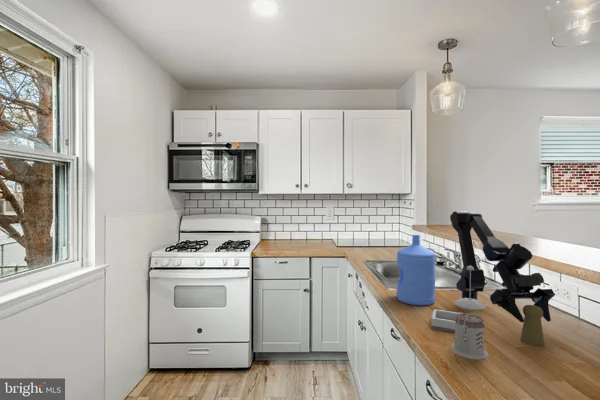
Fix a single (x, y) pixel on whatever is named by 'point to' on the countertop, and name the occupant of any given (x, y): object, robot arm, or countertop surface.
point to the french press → (469, 329)
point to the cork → (532, 325)
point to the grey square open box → (444, 320)
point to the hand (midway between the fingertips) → (536, 321)
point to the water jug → (416, 274)
